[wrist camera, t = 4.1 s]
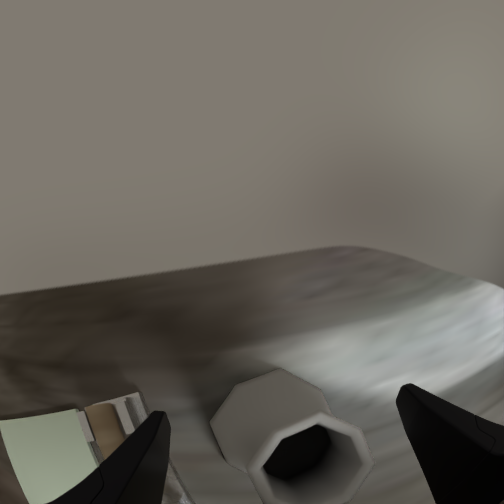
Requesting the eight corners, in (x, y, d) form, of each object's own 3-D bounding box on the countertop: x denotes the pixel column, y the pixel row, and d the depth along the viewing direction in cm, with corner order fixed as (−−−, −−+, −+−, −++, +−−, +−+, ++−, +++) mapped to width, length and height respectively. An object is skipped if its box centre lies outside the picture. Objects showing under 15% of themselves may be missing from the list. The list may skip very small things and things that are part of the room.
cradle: (207, 523, 10) (201, 543, 7) (158, 531, 9) (144, 549, 6) (141, 392, 14) (121, 390, 12) (96, 404, 13) (72, 402, 11)
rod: (183, 534, 8) (177, 546, 6) (158, 537, 7) (151, 548, 6) (116, 403, 12) (102, 402, 10) (94, 408, 11) (79, 408, 10)
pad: (137, 532, 9) (135, 534, 8) (44, 525, 6) (42, 526, 6) (78, 408, 13) (75, 408, 13) (0, 421, 11) (-2, 420, 10)
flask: (188, 418, 14) (114, 441, 5) (281, 348, 16) (324, 285, 7) (266, 498, 11) (289, 591, 2) (355, 426, 13) (465, 438, 5)
